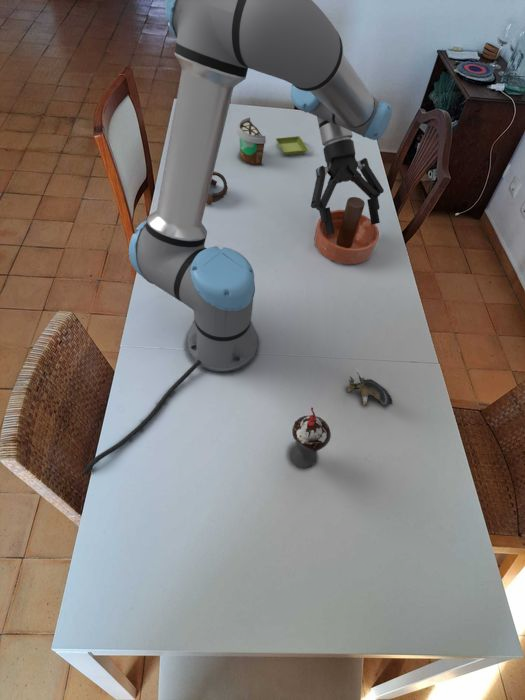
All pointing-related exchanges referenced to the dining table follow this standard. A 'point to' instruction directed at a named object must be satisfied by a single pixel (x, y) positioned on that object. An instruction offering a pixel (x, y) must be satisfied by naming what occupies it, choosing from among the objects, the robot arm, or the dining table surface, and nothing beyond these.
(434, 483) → the dining table surface
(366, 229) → the bowl
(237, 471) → the dining table surface
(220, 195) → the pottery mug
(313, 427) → the sundae
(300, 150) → the saucer
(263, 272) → the dining table surface
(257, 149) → the food container
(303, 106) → the robot arm
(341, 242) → the pestle
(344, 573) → the dining table surface
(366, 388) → the animal figurine
